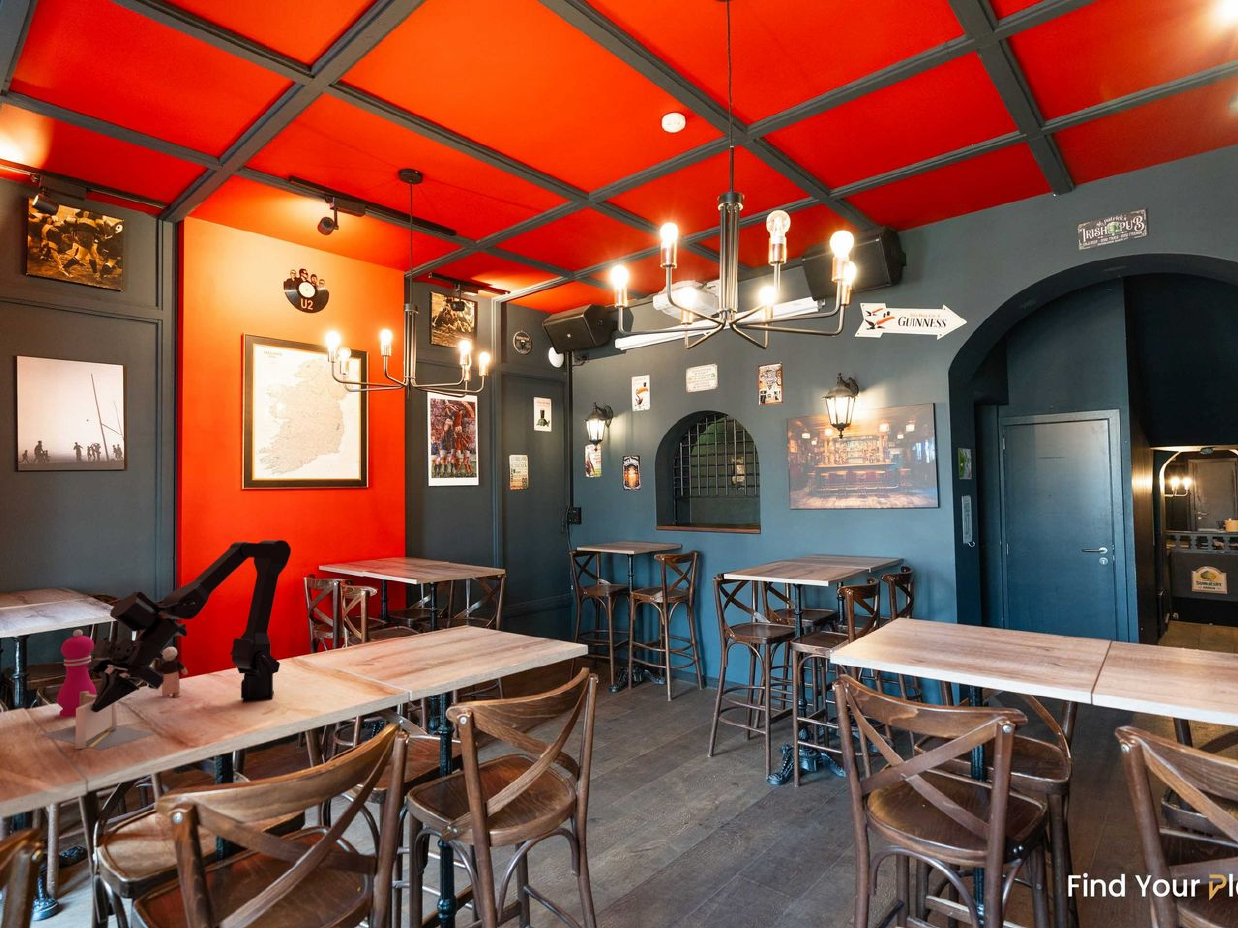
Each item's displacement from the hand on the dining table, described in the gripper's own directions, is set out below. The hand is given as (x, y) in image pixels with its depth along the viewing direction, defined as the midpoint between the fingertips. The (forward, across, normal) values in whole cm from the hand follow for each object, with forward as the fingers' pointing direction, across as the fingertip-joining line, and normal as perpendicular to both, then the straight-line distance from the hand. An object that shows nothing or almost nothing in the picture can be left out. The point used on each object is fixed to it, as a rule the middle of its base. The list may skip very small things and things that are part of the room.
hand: (93, 711), depth 136 cm
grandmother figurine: (-14, -23, +26) cm, 37 cm away
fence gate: (+3, -3, +6) cm, 7 cm away
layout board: (+3, -6, +8) cm, 10 cm away
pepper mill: (-2, -28, +13) cm, 31 cm away
